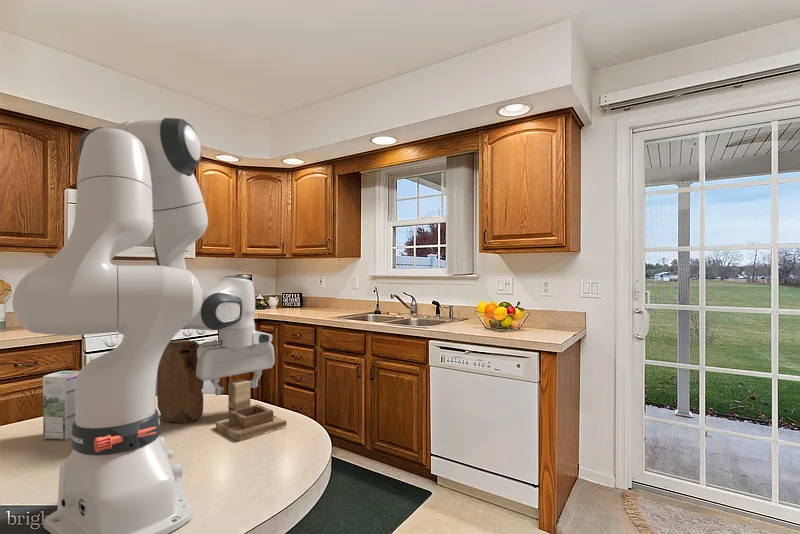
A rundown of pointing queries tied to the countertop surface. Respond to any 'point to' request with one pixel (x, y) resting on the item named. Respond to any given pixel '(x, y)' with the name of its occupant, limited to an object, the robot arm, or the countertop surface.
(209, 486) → the countertop surface
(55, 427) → the syrup box
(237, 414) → the brown wooden socket base
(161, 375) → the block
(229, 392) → the peg
